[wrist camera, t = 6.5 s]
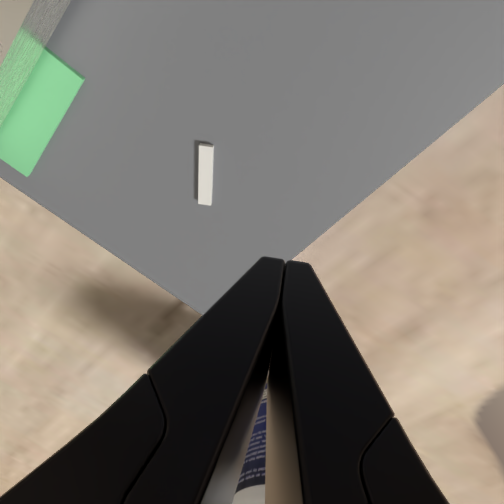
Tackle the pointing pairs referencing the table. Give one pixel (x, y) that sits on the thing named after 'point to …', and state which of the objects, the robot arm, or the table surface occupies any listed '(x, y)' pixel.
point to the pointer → (23, 42)
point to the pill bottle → (254, 462)
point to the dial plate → (237, 121)
